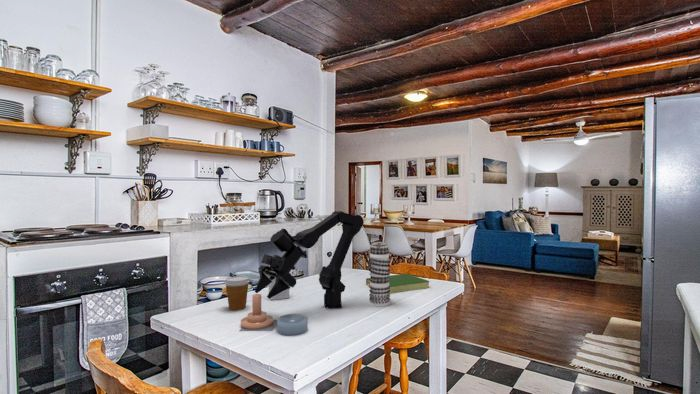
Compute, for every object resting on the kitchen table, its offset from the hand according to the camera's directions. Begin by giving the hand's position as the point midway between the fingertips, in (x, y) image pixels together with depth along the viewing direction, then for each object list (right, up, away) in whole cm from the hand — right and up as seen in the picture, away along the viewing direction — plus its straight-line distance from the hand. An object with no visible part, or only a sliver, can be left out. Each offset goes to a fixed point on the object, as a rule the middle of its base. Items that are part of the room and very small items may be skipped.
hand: (261, 295), depth 132 cm
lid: (-1, -10, -1) cm, 10 cm away
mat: (0, -10, -2) cm, 10 cm away
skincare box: (0, -10, +33) cm, 35 cm away
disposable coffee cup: (-14, -10, +18) cm, 25 cm away
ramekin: (+12, -10, -7) cm, 17 cm away
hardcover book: (+54, -10, +51) cm, 75 cm away
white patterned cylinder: (+43, -10, +24) cm, 50 cm away
